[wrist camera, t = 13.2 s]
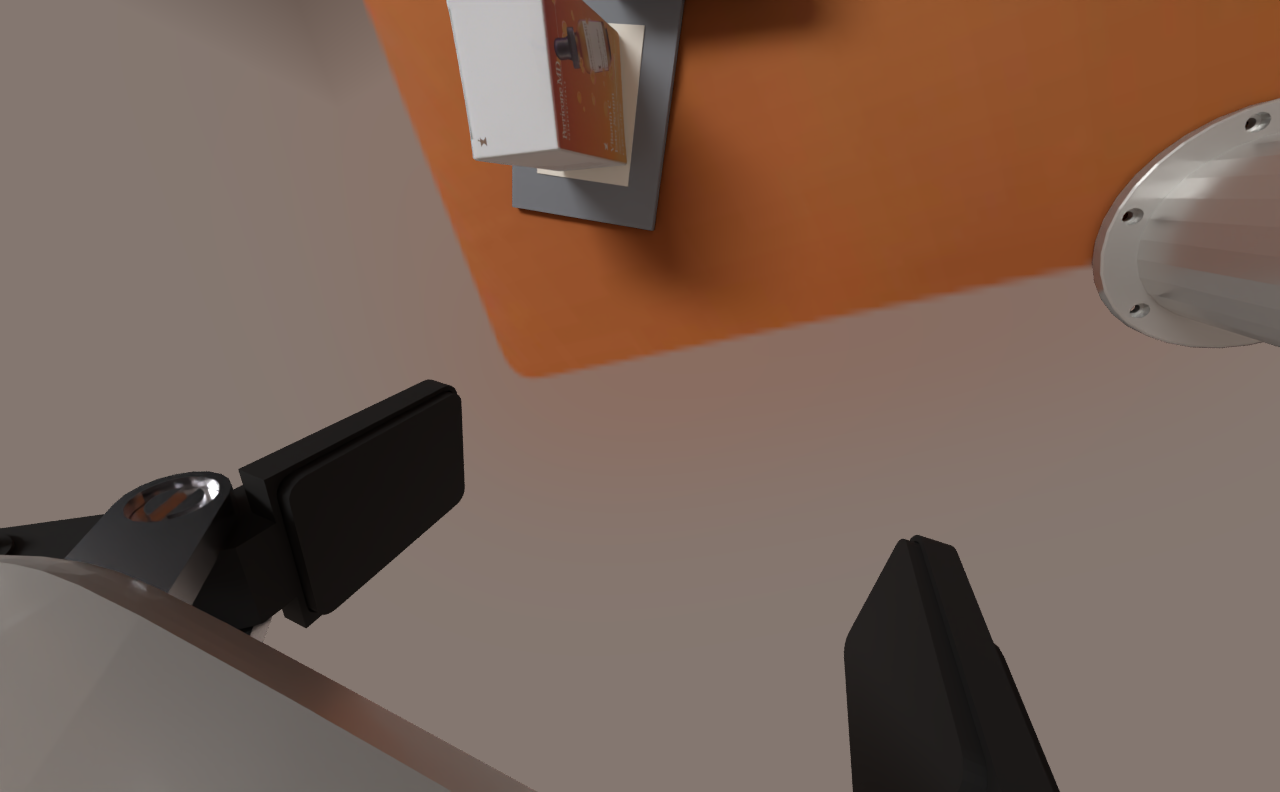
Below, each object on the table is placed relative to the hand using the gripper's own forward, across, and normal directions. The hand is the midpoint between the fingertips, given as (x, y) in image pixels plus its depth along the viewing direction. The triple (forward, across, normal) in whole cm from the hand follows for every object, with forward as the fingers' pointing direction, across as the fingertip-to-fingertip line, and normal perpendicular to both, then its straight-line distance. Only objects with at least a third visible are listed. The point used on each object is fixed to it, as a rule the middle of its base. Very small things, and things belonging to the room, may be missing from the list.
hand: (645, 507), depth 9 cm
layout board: (+28, +15, -10) cm, 33 cm away
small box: (+27, +15, -10) cm, 33 cm away
